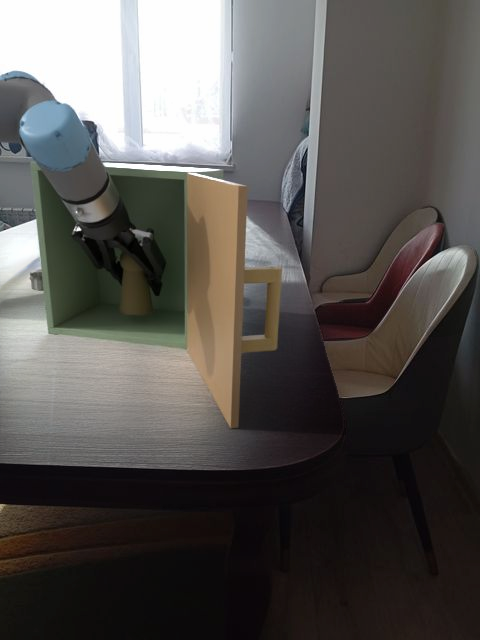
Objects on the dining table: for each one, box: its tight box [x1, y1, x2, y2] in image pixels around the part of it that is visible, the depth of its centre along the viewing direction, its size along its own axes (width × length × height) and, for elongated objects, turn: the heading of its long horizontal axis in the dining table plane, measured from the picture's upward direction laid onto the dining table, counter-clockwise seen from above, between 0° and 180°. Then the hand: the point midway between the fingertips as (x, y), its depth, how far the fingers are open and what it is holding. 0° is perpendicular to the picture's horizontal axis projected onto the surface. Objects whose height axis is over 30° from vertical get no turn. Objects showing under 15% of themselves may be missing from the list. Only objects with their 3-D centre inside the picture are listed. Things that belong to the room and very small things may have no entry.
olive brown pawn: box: [120, 252, 153, 315], centre depth 92 cm, size 6×6×11 cm
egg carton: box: [29, 268, 44, 291], centre depth 120 cm, size 11×8×4 cm
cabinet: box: [30, 161, 224, 350], centre depth 91 cm, size 18×26×28 cm
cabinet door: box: [186, 173, 283, 429], centre depth 70 cm, size 6×26×28 cm, turn 19°
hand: (144, 288), depth 96 cm, fingers closed on olive brown pawn, 5 cm apart
